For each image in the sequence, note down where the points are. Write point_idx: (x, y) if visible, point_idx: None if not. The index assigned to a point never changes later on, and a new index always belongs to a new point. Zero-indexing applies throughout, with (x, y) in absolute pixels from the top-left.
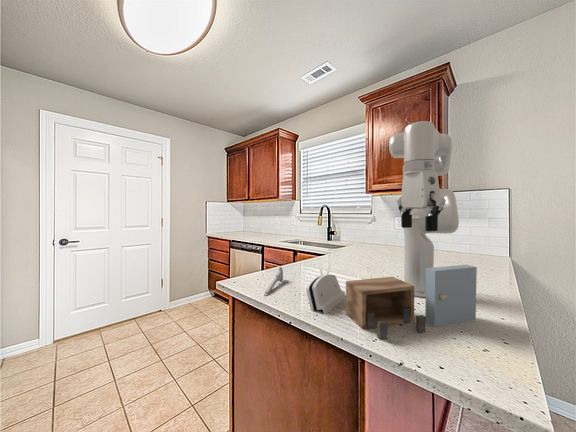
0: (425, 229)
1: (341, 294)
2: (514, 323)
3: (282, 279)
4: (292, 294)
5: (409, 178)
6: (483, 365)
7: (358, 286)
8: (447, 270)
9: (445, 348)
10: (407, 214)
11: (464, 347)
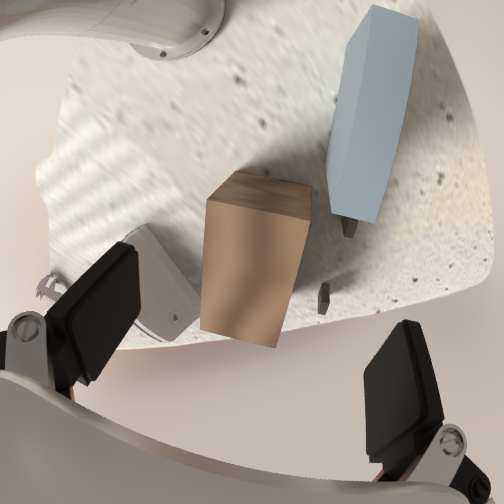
0: (364, 377)
1: (147, 246)
2: (415, 5)
3: (49, 275)
4: None
5: None
6: (449, 227)
7: (244, 334)
8: (391, 165)
9: (401, 230)
10: (72, 355)
11: (418, 199)
